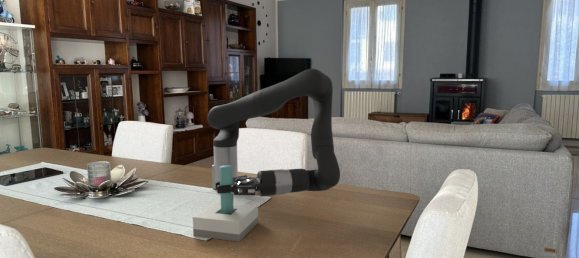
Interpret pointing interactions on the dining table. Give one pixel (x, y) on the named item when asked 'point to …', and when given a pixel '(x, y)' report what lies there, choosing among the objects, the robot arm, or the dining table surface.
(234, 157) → the robot arm
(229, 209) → the pin
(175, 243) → the dining table surface
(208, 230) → the block
